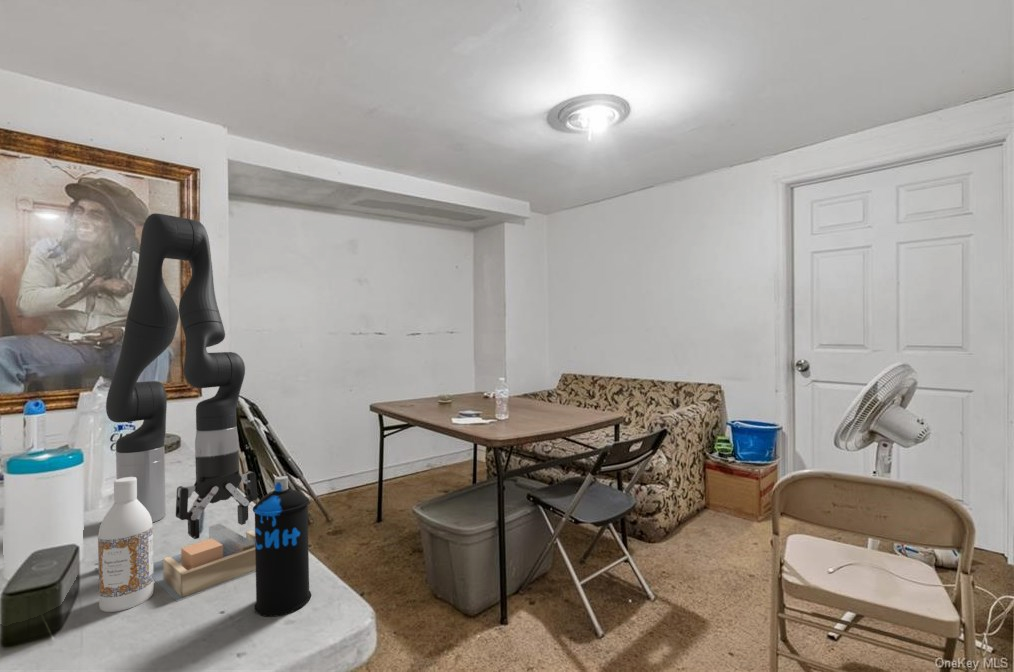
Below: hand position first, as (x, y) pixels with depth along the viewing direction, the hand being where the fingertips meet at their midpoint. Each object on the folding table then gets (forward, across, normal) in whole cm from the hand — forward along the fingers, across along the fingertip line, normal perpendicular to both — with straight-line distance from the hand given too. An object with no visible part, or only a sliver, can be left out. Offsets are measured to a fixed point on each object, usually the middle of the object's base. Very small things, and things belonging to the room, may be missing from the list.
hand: (219, 530), depth 95 cm
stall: (+4, +4, +10) cm, 11 cm away
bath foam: (+4, +17, +8) cm, 19 cm away
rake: (+4, +4, +5) cm, 8 cm away
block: (+4, +6, +9) cm, 11 cm away
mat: (+4, +4, +6) cm, 8 cm away
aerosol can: (+5, +2, +30) cm, 30 cm away
